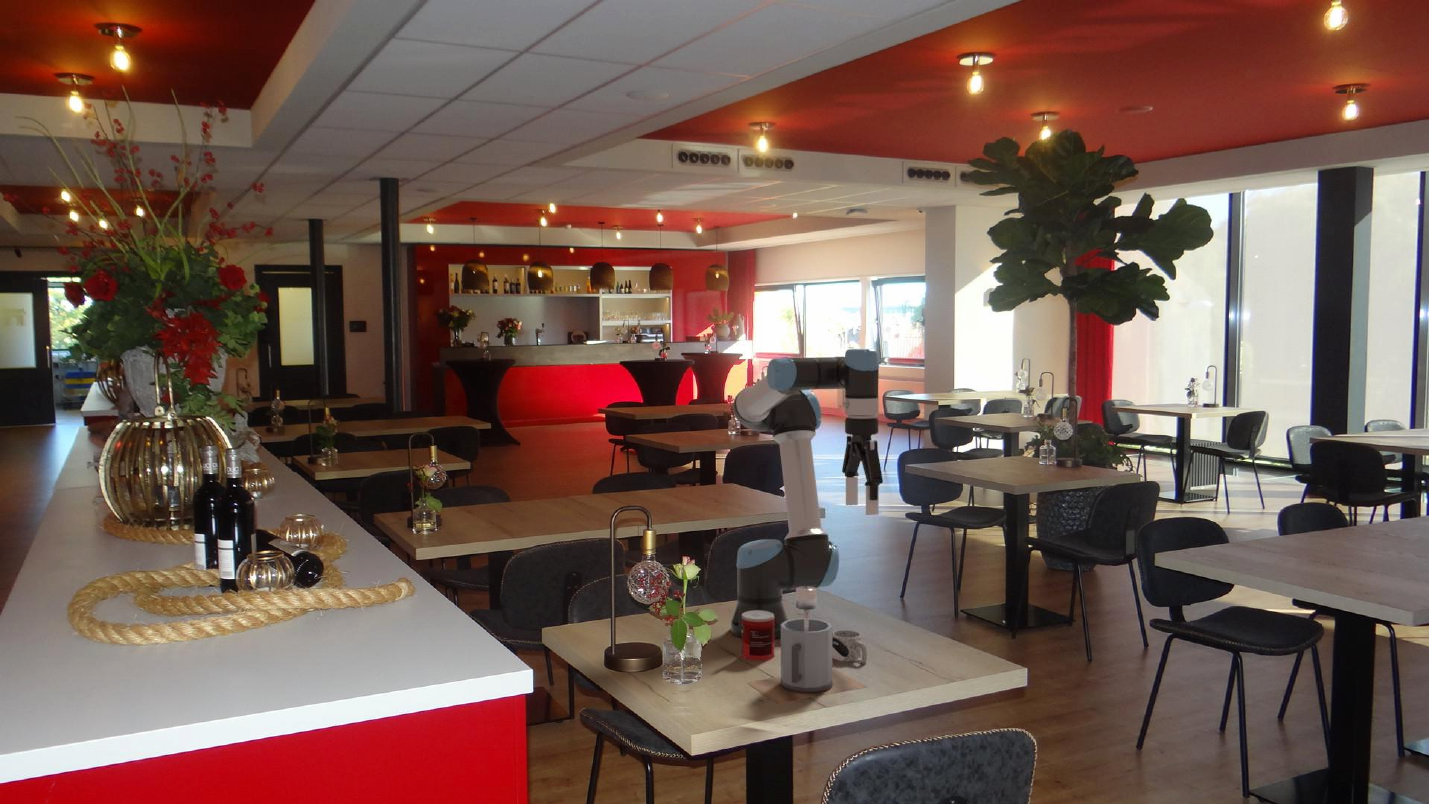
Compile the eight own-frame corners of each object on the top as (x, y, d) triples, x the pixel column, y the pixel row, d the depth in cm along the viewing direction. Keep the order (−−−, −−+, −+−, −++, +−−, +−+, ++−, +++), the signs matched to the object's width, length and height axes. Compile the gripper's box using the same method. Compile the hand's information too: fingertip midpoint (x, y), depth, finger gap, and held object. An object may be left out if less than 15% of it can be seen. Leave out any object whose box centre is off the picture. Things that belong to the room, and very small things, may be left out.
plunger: (784, 676, 213) (783, 591, 212) (795, 665, 220) (795, 583, 219) (818, 680, 210) (817, 594, 209) (828, 669, 217) (828, 586, 216)
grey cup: (769, 693, 210) (768, 632, 210) (790, 673, 223) (790, 616, 222) (820, 700, 206) (820, 638, 205) (839, 679, 218) (839, 621, 217)
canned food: (756, 653, 242) (756, 608, 241) (781, 660, 236) (781, 614, 235) (734, 660, 236) (734, 614, 236) (759, 668, 230) (759, 621, 230)
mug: (826, 660, 235) (826, 633, 235) (847, 655, 239) (847, 628, 239) (855, 672, 227) (855, 643, 227) (876, 666, 231) (876, 638, 230)
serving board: (777, 709, 204) (777, 703, 204) (746, 688, 217) (746, 682, 217) (867, 692, 214) (867, 686, 214) (832, 672, 226) (832, 667, 226)
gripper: (828, 413, 238) (829, 501, 239) (864, 421, 214) (864, 519, 215) (858, 412, 240) (858, 500, 241) (898, 420, 215) (897, 518, 216)
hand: (861, 509), depth 228 cm, fingers open, 13 cm apart
